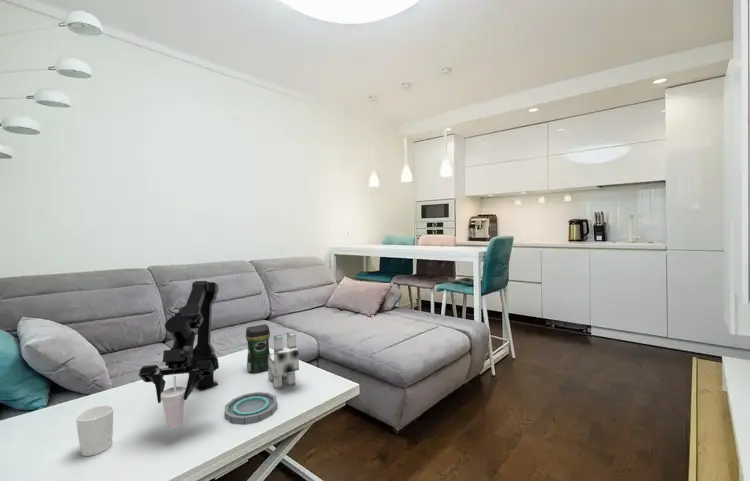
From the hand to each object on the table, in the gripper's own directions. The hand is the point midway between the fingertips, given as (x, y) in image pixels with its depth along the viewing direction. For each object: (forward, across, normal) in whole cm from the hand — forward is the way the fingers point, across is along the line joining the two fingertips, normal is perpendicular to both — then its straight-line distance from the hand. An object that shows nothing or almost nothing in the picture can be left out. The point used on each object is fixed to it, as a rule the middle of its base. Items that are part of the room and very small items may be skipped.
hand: (172, 401), depth 97 cm
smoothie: (+5, 0, +6) cm, 8 cm away
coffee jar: (-24, +18, +41) cm, 51 cm away
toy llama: (-12, +28, +30) cm, 43 cm away
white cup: (+7, -20, +10) cm, 23 cm away
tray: (0, +19, +17) cm, 26 cm away
